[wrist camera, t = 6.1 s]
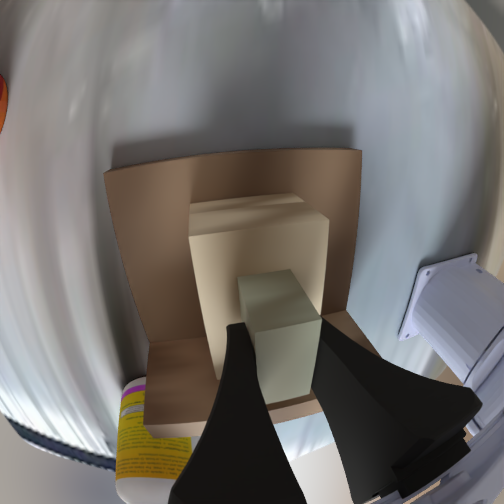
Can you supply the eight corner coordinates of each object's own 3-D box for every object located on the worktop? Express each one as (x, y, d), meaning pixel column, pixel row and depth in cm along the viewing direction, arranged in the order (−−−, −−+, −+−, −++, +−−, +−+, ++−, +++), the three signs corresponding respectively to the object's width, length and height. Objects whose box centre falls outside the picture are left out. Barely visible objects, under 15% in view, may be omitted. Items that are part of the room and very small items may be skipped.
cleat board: (350, 148, 14) (446, 173, 8) (335, 317, 19) (383, 388, 13) (110, 169, 12) (40, 210, 6) (157, 347, 17) (153, 438, 11)
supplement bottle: (107, 382, 18) (94, 526, 7) (174, 363, 18) (186, 535, 7) (151, 419, 21) (157, 539, 10) (212, 405, 21) (237, 536, 10)
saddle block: (292, 192, 13) (375, 256, 7) (290, 314, 17) (335, 405, 10) (189, 203, 12) (187, 286, 6) (209, 328, 16) (225, 430, 10)
